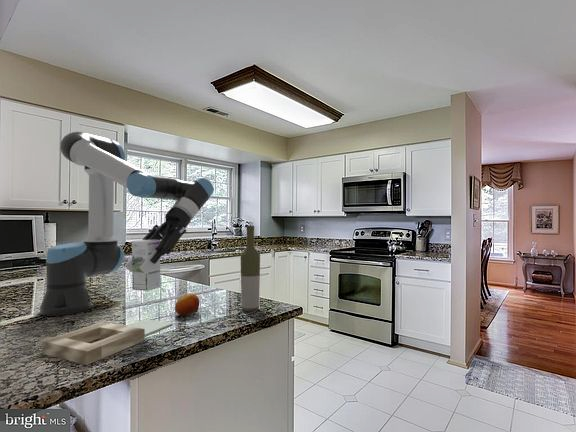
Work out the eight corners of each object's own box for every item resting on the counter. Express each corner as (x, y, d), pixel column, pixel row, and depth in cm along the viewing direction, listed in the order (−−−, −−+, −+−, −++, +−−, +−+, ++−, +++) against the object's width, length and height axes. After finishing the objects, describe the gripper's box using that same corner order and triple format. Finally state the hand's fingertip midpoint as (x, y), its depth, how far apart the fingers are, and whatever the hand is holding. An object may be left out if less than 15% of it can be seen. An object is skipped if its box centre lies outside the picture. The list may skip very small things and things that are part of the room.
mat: (115, 331, 94) (115, 329, 94) (145, 320, 104) (145, 319, 104) (143, 336, 90) (143, 334, 90) (172, 324, 100) (172, 323, 100)
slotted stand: (41, 353, 79) (42, 340, 79) (102, 332, 93) (102, 321, 93) (86, 365, 72) (87, 351, 72) (144, 340, 87) (144, 329, 87)
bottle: (242, 307, 120) (242, 225, 121) (261, 307, 120) (261, 225, 121) (238, 312, 113) (238, 225, 114) (258, 312, 113) (258, 225, 114)
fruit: (197, 314, 106) (186, 292, 107) (178, 325, 108) (167, 304, 109) (208, 307, 114) (197, 287, 115) (190, 318, 116) (180, 298, 117)
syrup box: (161, 287, 99) (161, 239, 99) (147, 291, 93) (146, 240, 94) (146, 286, 101) (146, 239, 101) (131, 290, 95) (131, 240, 95)
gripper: (208, 222, 105) (164, 281, 91) (169, 222, 116) (124, 275, 102) (195, 205, 100) (147, 264, 87) (156, 206, 111) (107, 259, 97)
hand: (135, 270), depth 94 cm, fingers closed on syrup box, 7 cm apart
